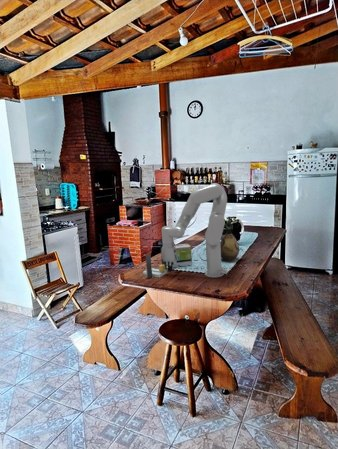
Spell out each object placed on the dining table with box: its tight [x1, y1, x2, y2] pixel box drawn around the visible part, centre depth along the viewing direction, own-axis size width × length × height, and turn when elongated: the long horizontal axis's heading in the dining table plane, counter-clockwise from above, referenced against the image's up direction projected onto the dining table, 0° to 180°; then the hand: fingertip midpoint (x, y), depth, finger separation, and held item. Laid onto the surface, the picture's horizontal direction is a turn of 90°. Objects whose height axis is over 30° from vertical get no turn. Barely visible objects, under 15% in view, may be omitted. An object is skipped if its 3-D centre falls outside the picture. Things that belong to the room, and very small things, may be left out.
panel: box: [142, 267, 168, 279], centre depth 212 cm, size 14×9×3 cm, turn 56°
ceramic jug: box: [220, 219, 240, 263], centre depth 228 cm, size 17×15×30 cm
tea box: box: [172, 243, 193, 268], centre depth 225 cm, size 15×10×15 cm
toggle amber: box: [158, 263, 165, 272], centre depth 210 cm, size 3×3×4 cm
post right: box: [160, 246, 168, 271], centre depth 218 cm, size 3×3×16 cm
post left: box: [145, 253, 153, 279], centre depth 204 cm, size 3×3×16 cm
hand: (170, 271), depth 206 cm, fingers closed
